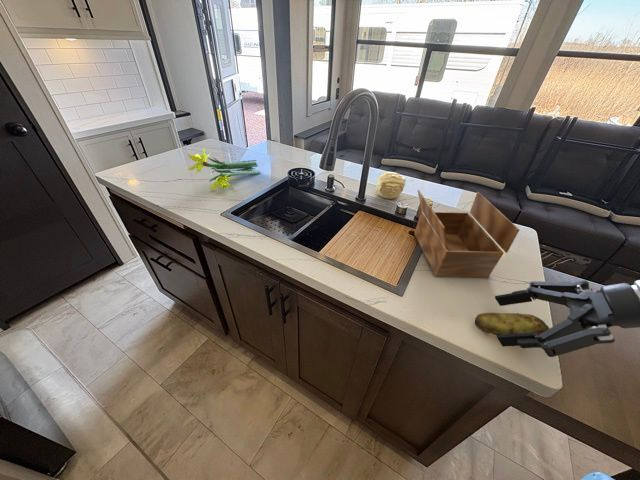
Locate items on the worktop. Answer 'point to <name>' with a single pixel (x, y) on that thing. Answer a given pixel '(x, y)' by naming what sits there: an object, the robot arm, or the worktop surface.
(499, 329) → the potato
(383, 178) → the sculpture
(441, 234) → the flap
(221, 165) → the daffodil flowers
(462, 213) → the wooden box
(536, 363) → the worktop surface
